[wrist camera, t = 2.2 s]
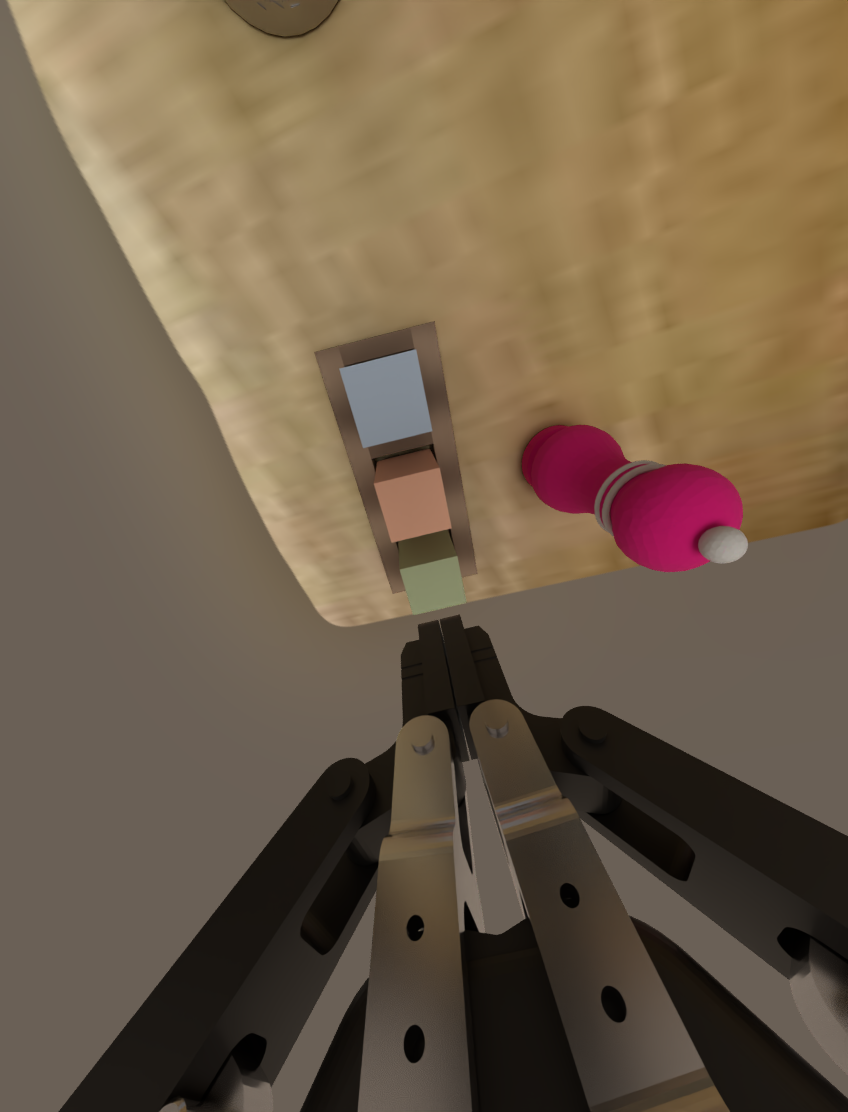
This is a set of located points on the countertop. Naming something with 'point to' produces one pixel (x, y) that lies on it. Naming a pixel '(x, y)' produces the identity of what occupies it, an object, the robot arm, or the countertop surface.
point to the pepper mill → (638, 499)
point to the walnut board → (439, 438)
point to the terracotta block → (411, 495)
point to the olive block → (431, 572)
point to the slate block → (387, 398)
